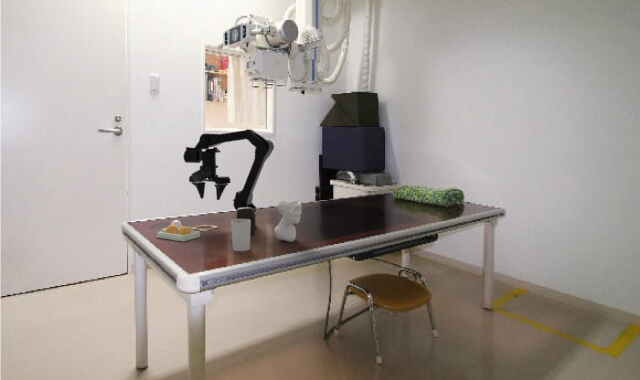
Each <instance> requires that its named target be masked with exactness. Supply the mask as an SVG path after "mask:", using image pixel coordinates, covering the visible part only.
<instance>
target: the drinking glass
mask: <svg viewBox="0 0 640 380" xmlns="http://www.w3.org/2000/svg"><path fill="white" fill-rule="evenodd" d="M230 226H231V227H230V228H231V239H232V240H231V241H232V250H233V251H235V252H246V251H249V250H251V236H250V228H251V220H249V219H236V218H235V219H232V220H231V221H230Z"/></svg>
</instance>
